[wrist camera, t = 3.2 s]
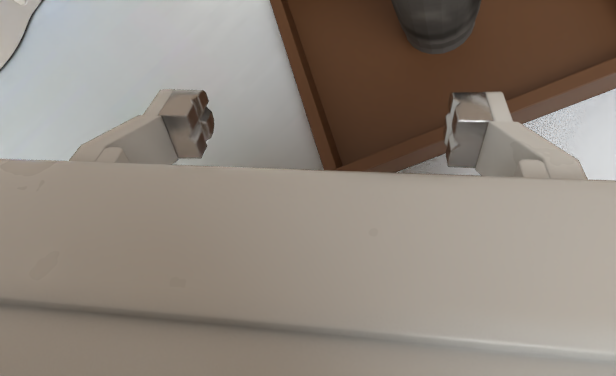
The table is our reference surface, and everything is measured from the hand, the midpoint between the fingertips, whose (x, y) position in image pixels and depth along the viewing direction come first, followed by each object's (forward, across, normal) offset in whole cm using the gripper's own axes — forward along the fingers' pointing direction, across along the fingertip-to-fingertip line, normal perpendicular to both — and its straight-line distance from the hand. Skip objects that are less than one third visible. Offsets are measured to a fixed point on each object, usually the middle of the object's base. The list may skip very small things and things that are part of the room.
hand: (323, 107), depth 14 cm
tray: (+17, -6, +5) cm, 18 cm away
